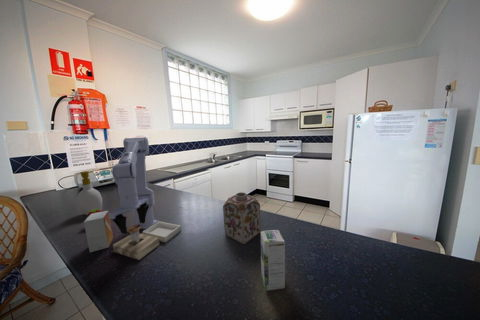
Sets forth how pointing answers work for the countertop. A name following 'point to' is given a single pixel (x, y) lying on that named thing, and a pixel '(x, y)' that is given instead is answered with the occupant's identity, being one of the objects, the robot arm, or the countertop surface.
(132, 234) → the pin
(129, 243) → the hitch block
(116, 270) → the countertop surface
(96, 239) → the small box
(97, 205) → the soap bottle
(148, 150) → the robot arm
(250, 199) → the decorative jar
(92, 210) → the strawberry
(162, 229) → the tray
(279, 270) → the syrup box
